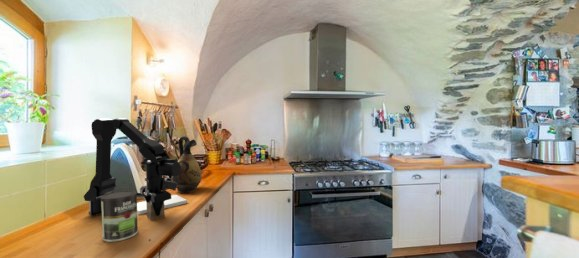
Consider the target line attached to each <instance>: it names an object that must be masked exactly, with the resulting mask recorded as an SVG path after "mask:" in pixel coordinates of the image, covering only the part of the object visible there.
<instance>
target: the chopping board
mask: <svg viewBox="0 0 579 258" xmlns="http://www.w3.org/2000/svg"><path fill="white" fill-rule="evenodd" d="M185 204H188V199H185V198H183V197H182V196H180V195H177V194H171V199H169V200H165V201H164V210H165V209H169V208H174V207H176V206H181V205H185ZM143 214H147V203H146V201H145V200H144V201H139V202H137V215H139V216H140V215H143Z"/></svg>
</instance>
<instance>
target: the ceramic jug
mask: <svg viewBox="0 0 579 258" xmlns="http://www.w3.org/2000/svg"><path fill="white" fill-rule="evenodd" d="M195 146H197V141H196V140H195V139H191V140H190V139H189V136H186V135H182V136H181V137H179V138H178V149H179V150H178V151H179V159H177V162H179V163H180V166H181V172H180V174H179V175H178V176H171V181H173V182H176V183H178V184H177V187H176V190H177V193H180V194H190V193H193V192H196V189H197V187H198V186H199V185H200V183H201V182H202V174H203V173H202V170H201V167H200V164H199V163H198V161H197V158H195V157H194V155H193V154H192V152H191V148H194V147H195Z"/></svg>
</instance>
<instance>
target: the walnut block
mask: <svg viewBox="0 0 579 258" xmlns="http://www.w3.org/2000/svg"><path fill="white" fill-rule="evenodd" d="M146 203H147V213H146V218H148V219H149V220H150V221H154V220H158V219H161V218H165V209H164V202H163V205H162V208H161V212H160V215H159V216H156V214H155V212H154V209H153V207H152V205H151V203H150V202H146Z"/></svg>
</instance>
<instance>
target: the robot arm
mask: <svg viewBox="0 0 579 258" xmlns="http://www.w3.org/2000/svg"><path fill="white" fill-rule="evenodd" d="M117 130H119V131H120V132H121V133H122V134H123V135H124V136H126V137H127V138H128V139H129V140H130V141H132V143H134V144H135V146H137V148H138V151H139V153H140V154H141V155H142V157H143V158H144V159H143V160H142V161H141V162H140V165H145V177H144V181H145V183H146V185H142V186H141V187H140V188H139V193H140V195H142V197H143V199H144V201H146V202H150V203H151V205H152V207H153V209H154V212H155V214H156V216H159V215H160V212H161V208H162V205H163V202H164V201H165V200H169V199H171V195H172V193H170V192H169V191H167V190H171V191H176V190H177V188H176V187H177V184H178V183H176V182H173V181H172V178H170V177H172V176H178V175H179V174H180V172H181V166H180V163H179V162H178V158H170V156H169V155H168V154H169V153H167V151H166V150H165V147H164V145H163V144H161V143H159V142H158V141H156V140H153V139H150V138H149V137H147V136H146V135H145V134H144V133H143V132H142V131H140V130H139V129H138V128H137V127H136V126H135V125H133V123H131V122H130V120H129V119H128V118H124V117H123V118H122V117H121V118H120V117H119V118H118V117H117V118H113V119H112V118H98V119H97V118H96V119H94V120H93V121H92V122H91V134H92V135H93V137H94V139H95V140H96V148H95V149H96V152H95V156H96V157H95V175H94V176H93V178H92V179H91V180H90V183H89V189H88V190H87V191H86V192H85V194H84V195H83V199H84V201H85V202H88V203H89V211H88V213H89V215H90V216H91V217H93V216H97V215H102V207H101V196H102V195H105V194H107V193H111V192H114V190H115V188H116V187H117V185H116V180H117V179H116V177H113V176H112V174H111V158H112V157H111V155H112V154H111V153H112V140H113V139H114V137H115V136H116V134H117Z"/></svg>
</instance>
